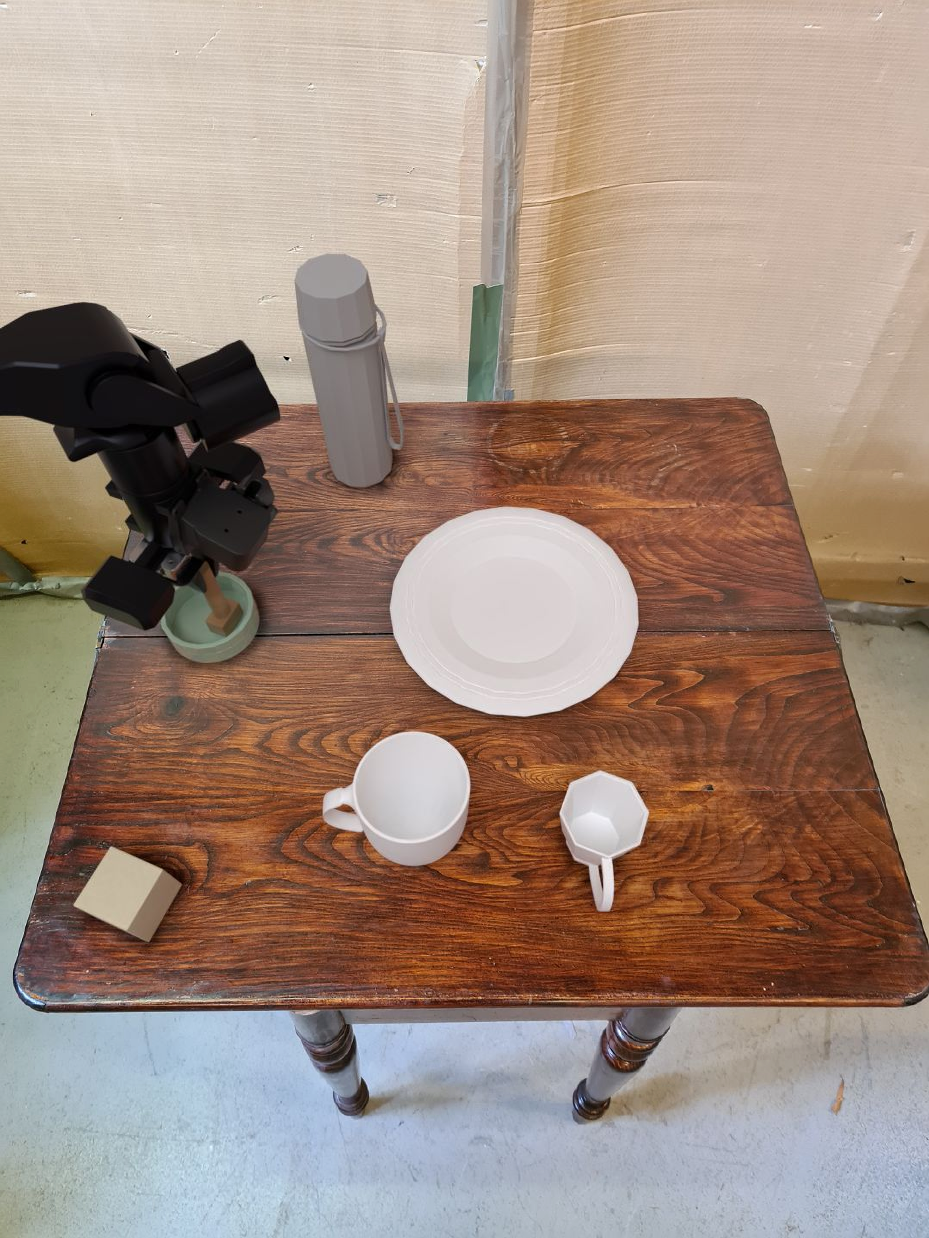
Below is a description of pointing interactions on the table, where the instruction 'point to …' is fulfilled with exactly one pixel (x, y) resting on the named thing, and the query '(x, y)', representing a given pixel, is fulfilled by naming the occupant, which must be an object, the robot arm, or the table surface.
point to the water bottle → (347, 367)
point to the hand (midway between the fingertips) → (207, 582)
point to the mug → (406, 798)
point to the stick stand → (128, 893)
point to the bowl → (192, 631)
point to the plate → (514, 611)
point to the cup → (602, 826)
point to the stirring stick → (219, 605)
